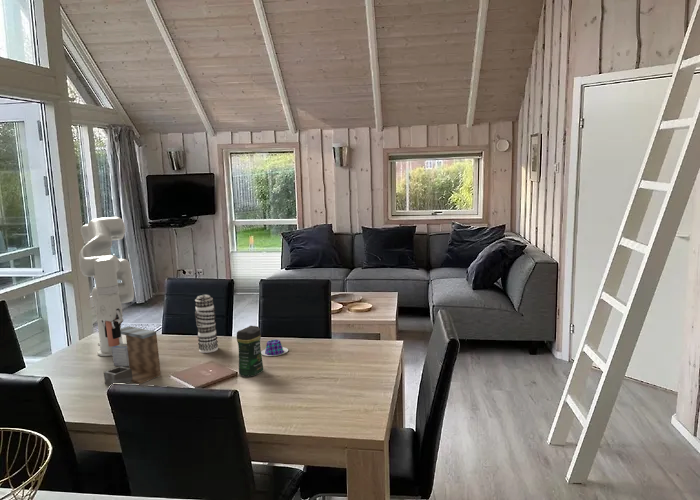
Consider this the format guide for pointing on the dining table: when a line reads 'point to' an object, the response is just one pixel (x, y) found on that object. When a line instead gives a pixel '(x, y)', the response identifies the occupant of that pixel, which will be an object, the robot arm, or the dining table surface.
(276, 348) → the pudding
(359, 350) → the dining table surface
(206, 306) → the decorative candle
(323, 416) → the dining table surface
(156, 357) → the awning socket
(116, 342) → the peg
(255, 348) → the coffee jar
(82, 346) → the dining table surface
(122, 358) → the medicine box
